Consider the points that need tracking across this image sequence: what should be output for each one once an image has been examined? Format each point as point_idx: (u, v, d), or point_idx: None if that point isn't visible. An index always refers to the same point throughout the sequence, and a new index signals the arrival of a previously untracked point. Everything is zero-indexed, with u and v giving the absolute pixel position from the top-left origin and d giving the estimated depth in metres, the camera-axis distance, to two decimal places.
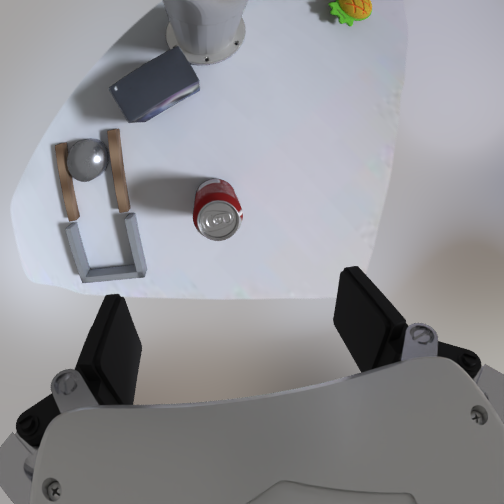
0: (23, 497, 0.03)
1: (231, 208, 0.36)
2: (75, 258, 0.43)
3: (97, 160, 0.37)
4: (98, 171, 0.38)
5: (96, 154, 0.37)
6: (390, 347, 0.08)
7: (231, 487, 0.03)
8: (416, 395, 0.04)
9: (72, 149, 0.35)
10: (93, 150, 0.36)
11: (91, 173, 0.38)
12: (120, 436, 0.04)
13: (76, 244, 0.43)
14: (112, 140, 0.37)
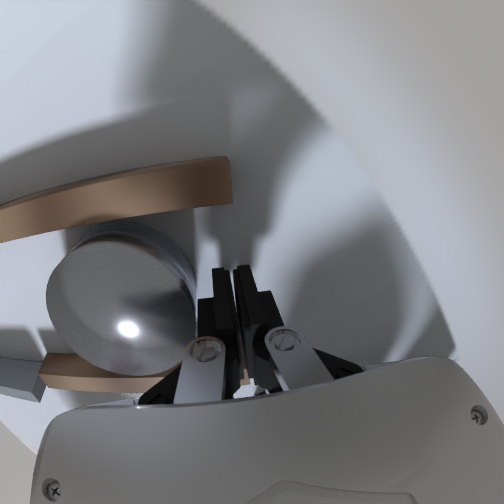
0: None
1: None
2: None
3: (129, 362, 0.12)
4: (97, 363, 0.11)
5: (146, 360, 0.12)
6: (253, 348, 0.08)
7: (231, 487, 0.03)
8: (416, 395, 0.04)
9: (150, 274, 0.10)
10: (158, 352, 0.11)
11: (84, 344, 0.11)
12: (120, 436, 0.04)
13: None
14: None
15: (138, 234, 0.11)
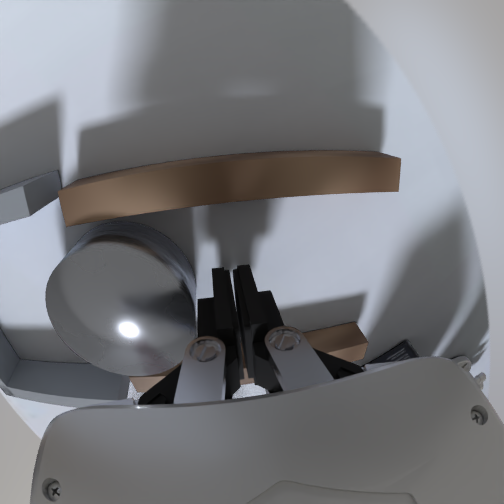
0: None
1: None
2: None
3: (128, 363, 0.11)
4: (96, 363, 0.11)
5: (145, 361, 0.12)
6: (253, 348, 0.08)
7: (231, 487, 0.03)
8: (416, 395, 0.04)
9: (151, 275, 0.10)
10: (158, 353, 0.11)
11: (83, 344, 0.11)
12: (120, 436, 0.04)
13: None
14: (341, 357, 0.15)
15: (139, 235, 0.11)
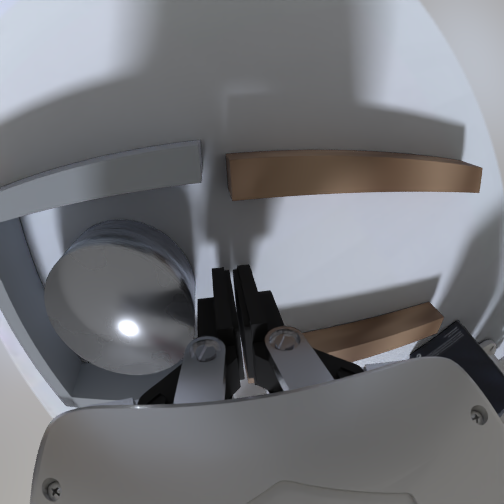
0: None
1: None
2: (40, 188, 0.07)
3: (125, 361, 0.11)
4: (93, 361, 0.11)
5: (142, 360, 0.11)
6: (253, 348, 0.08)
7: (231, 487, 0.03)
8: (416, 395, 0.04)
9: (153, 275, 0.10)
10: (156, 352, 0.11)
11: (80, 342, 0.11)
12: (120, 436, 0.04)
13: None
14: (424, 330, 0.16)
15: (141, 234, 0.11)
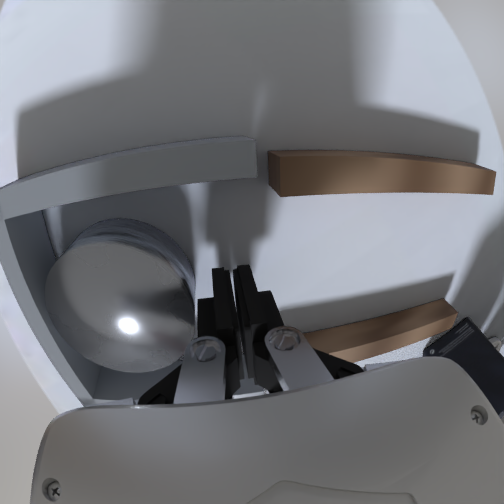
0: None
1: None
2: (78, 176, 0.07)
3: (124, 359, 0.11)
4: (92, 358, 0.11)
5: (141, 357, 0.12)
6: (253, 348, 0.08)
7: (231, 487, 0.03)
8: (416, 395, 0.04)
9: (154, 273, 0.10)
10: (155, 350, 0.11)
11: (80, 338, 0.11)
12: (120, 436, 0.04)
13: None
14: (441, 325, 0.16)
15: (143, 232, 0.11)
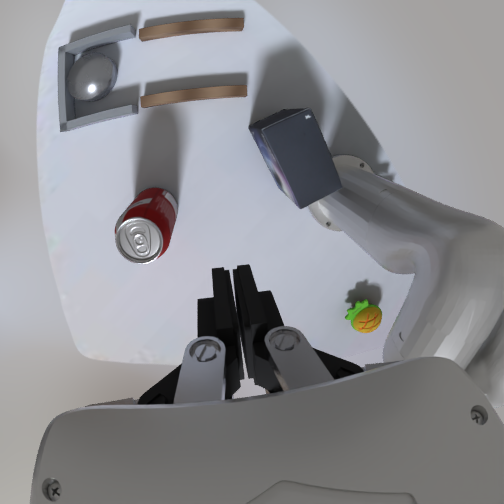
0: None
1: (154, 253, 0.30)
2: (90, 37, 0.23)
3: (87, 92, 0.27)
4: (75, 96, 0.27)
5: (93, 89, 0.27)
6: (253, 348, 0.08)
7: (231, 487, 0.03)
8: (416, 395, 0.04)
9: (103, 57, 0.25)
10: (98, 85, 0.27)
11: (74, 87, 0.26)
12: (120, 436, 0.04)
13: (108, 38, 0.24)
14: (233, 90, 0.31)
15: None
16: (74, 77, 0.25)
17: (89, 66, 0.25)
